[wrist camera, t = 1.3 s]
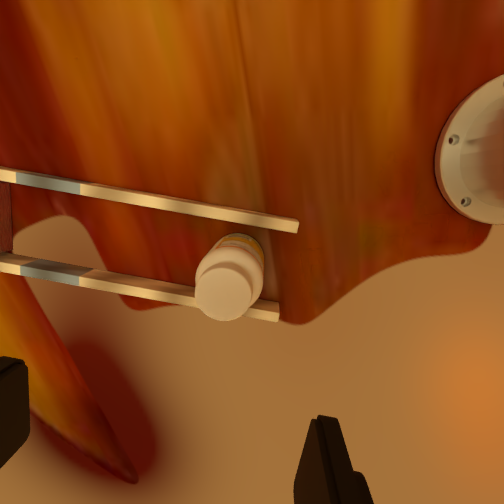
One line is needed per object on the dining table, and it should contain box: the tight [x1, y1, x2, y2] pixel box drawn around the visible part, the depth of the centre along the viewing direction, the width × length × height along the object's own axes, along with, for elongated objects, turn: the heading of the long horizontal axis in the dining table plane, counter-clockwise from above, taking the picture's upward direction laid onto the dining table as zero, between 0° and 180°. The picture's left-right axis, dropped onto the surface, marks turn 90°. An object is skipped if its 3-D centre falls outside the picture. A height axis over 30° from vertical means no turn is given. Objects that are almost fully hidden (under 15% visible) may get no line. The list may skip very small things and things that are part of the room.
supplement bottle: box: [195, 233, 264, 321], centre depth 24 cm, size 5×5×10 cm
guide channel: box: [0, 166, 299, 322], centre depth 26 cm, size 32×10×5 cm, turn 80°
